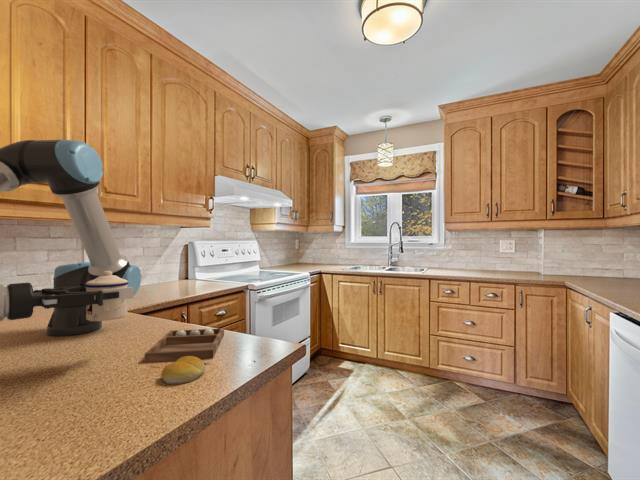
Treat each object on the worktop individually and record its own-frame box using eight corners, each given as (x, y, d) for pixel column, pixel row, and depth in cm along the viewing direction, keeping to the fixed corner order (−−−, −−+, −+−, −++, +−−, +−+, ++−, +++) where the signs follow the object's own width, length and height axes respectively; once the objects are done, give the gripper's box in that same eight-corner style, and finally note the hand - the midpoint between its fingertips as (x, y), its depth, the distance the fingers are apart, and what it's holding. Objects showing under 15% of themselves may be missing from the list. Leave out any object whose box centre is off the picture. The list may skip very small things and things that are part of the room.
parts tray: (170, 340, 98) (170, 330, 98) (224, 337, 101) (224, 328, 101) (144, 366, 77) (144, 353, 77) (213, 361, 80) (213, 349, 80)
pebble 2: (190, 338, 97) (190, 328, 97) (201, 337, 98) (201, 327, 98) (188, 341, 94) (188, 330, 94) (199, 340, 95) (199, 330, 95)
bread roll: (153, 383, 68) (153, 365, 68) (181, 367, 77) (181, 351, 77) (187, 387, 66) (187, 368, 66) (211, 371, 75) (211, 354, 75)
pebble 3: (204, 337, 98) (204, 327, 98) (214, 336, 98) (214, 327, 98) (202, 340, 95) (202, 330, 95) (213, 339, 95) (213, 329, 95)
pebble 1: (176, 338, 96) (176, 328, 96) (187, 338, 97) (187, 328, 97) (174, 341, 93) (174, 331, 93) (184, 341, 94) (184, 331, 94)
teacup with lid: (87, 316, 82) (87, 270, 82) (128, 312, 87) (128, 269, 87) (81, 326, 72) (81, 274, 72) (128, 321, 76) (128, 272, 77)
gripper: (-1, 312, 73) (108, 299, 90) (13, 330, 58) (142, 311, 74) (-1, 279, 73) (108, 272, 90) (14, 289, 58) (142, 278, 75)
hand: (123, 290), depth 82 cm, fingers closed on teacup with lid, 12 cm apart
